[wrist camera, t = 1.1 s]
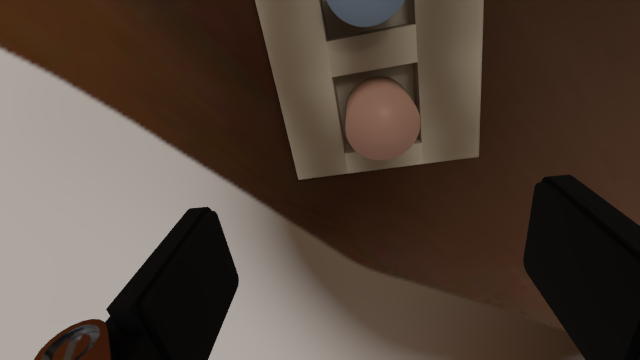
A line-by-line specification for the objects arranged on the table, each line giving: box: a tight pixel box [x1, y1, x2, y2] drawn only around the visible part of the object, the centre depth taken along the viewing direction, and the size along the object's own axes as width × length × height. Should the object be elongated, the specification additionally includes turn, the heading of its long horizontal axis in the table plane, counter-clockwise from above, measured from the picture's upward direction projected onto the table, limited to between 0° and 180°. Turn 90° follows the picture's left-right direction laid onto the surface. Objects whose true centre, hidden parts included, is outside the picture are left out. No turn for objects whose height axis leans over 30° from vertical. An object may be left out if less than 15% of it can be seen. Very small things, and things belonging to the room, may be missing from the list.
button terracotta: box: [345, 76, 420, 160], centre depth 19 cm, size 4×4×4 cm
